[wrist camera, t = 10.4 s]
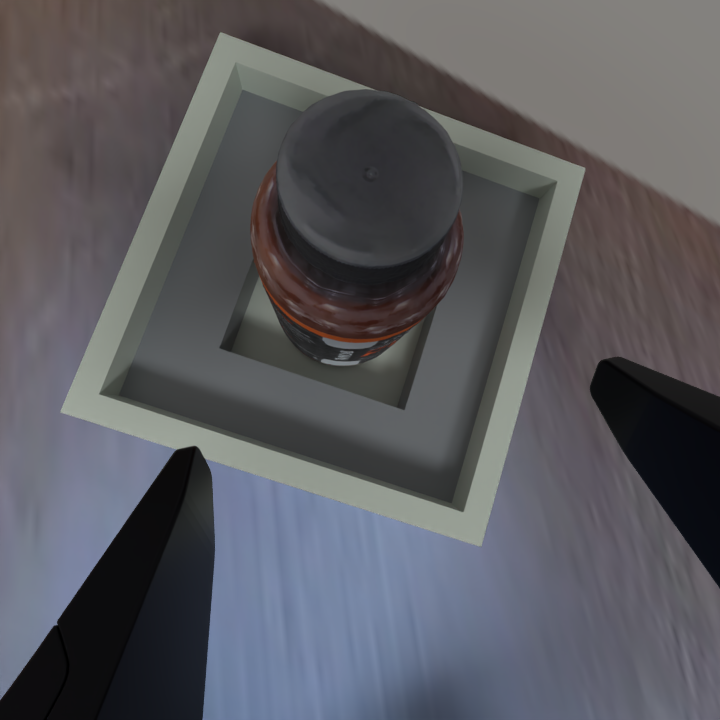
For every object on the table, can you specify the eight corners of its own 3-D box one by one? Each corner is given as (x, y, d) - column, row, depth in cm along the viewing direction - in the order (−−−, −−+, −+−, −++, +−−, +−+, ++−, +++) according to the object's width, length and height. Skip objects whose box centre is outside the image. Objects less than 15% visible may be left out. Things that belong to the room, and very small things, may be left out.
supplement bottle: (368, 391, 20) (431, 373, 8) (253, 329, 19) (162, 225, 8) (426, 281, 20) (554, 130, 9) (316, 221, 20) (312, -8, 9)
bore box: (533, 215, 22) (585, 168, 18) (446, 516, 20) (480, 547, 16) (241, 109, 22) (220, 32, 17) (120, 410, 19) (60, 411, 15)
